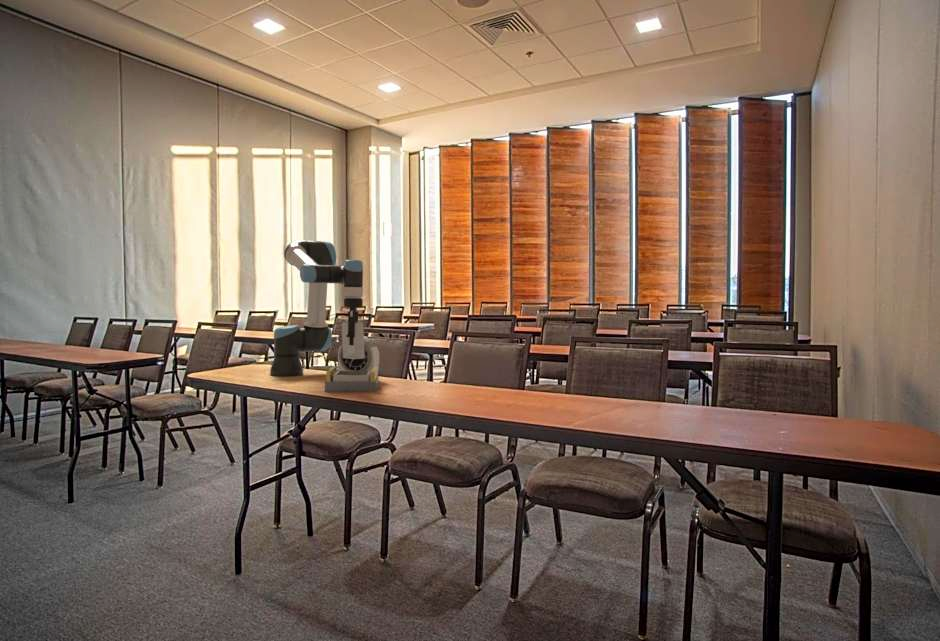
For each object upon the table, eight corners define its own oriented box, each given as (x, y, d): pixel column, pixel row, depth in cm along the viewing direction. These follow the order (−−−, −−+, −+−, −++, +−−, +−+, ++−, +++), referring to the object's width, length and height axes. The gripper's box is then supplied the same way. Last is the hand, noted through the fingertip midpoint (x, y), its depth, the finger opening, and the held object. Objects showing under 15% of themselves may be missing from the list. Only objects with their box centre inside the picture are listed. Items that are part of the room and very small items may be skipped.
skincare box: (364, 358, 233) (365, 322, 233) (352, 359, 229) (352, 322, 228) (353, 357, 239) (353, 321, 239) (341, 358, 235) (341, 322, 234)
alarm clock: (336, 380, 257) (336, 335, 256) (345, 377, 265) (345, 334, 264) (372, 382, 252) (372, 337, 251) (380, 379, 260) (381, 335, 259)
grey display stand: (330, 388, 242) (331, 366, 241) (378, 388, 244) (378, 366, 243) (324, 394, 226) (325, 371, 225) (375, 394, 228) (376, 371, 227)
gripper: (347, 297, 244) (347, 349, 245) (340, 297, 222) (340, 354, 223) (365, 297, 245) (364, 349, 245) (360, 297, 222) (359, 354, 223)
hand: (353, 352), depth 234 cm, fingers closed on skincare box, 10 cm apart
